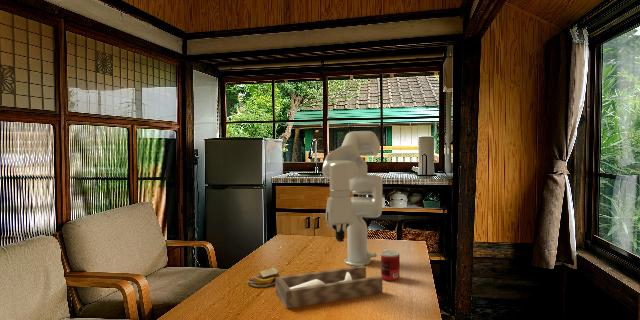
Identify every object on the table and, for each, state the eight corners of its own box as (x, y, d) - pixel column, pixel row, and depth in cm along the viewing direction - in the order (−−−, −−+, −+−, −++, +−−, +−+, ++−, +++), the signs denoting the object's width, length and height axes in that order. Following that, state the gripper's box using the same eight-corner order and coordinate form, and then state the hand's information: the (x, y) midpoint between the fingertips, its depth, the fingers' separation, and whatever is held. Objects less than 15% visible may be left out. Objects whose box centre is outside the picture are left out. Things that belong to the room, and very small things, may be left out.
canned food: (400, 276, 169) (400, 251, 169) (398, 282, 162) (398, 256, 161) (383, 274, 172) (382, 249, 171) (379, 280, 164) (379, 254, 164)
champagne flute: (352, 293, 150) (291, 308, 143) (345, 281, 156) (286, 294, 148) (353, 280, 147) (291, 295, 140) (346, 268, 153) (286, 281, 145)
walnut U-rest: (363, 279, 166) (363, 265, 165) (382, 293, 151) (382, 277, 150) (275, 292, 153) (275, 277, 152) (286, 308, 138) (286, 291, 137)
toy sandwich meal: (246, 279, 169) (246, 268, 169) (278, 276, 172) (278, 265, 172) (247, 289, 157) (247, 278, 156) (281, 286, 160) (281, 275, 159)
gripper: (353, 191, 158) (353, 236, 159) (318, 194, 153) (318, 240, 154) (361, 194, 151) (361, 241, 152) (324, 196, 146) (325, 245, 147)
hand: (340, 240), depth 153 cm, fingers closed
